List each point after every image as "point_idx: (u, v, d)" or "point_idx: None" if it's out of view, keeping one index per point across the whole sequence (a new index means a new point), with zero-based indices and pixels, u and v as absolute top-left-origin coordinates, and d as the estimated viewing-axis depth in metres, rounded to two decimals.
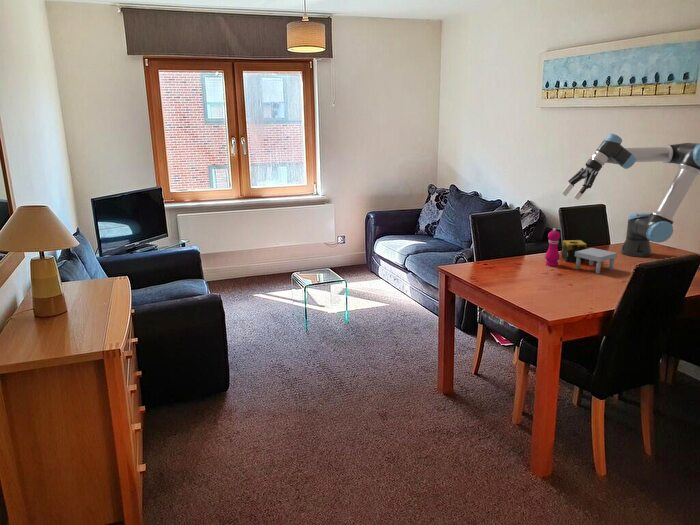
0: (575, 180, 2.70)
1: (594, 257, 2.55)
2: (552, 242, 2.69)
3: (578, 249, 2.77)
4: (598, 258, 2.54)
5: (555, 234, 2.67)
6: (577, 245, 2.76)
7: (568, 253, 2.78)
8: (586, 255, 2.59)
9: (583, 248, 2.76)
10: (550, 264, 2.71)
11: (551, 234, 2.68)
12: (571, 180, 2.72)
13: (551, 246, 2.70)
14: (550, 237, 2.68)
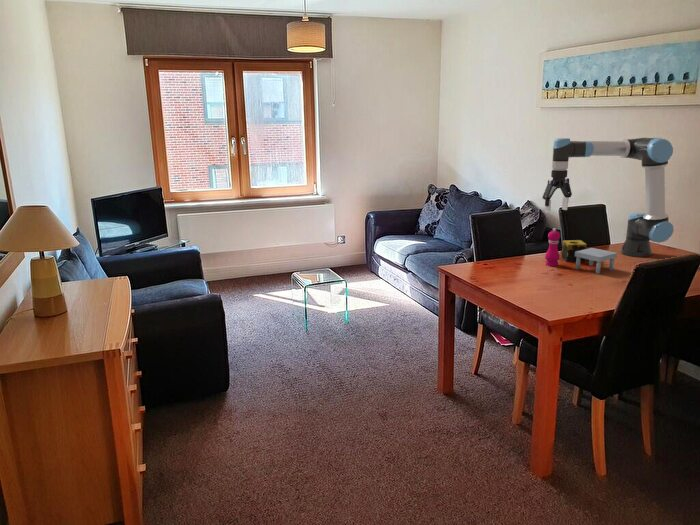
0: (563, 192, 2.67)
1: (594, 257, 2.55)
2: (552, 242, 2.69)
3: (578, 249, 2.77)
4: (598, 258, 2.54)
5: (555, 234, 2.67)
6: (577, 245, 2.76)
7: (568, 253, 2.78)
8: (586, 255, 2.59)
9: (583, 248, 2.76)
10: (550, 264, 2.71)
11: (551, 234, 2.68)
12: None
13: (551, 246, 2.70)
14: (550, 237, 2.68)
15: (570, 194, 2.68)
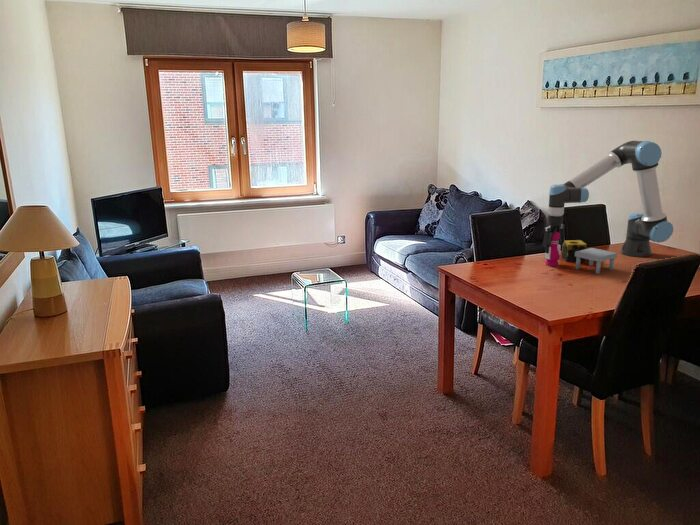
0: None
1: (594, 257, 2.55)
2: (552, 242, 2.69)
3: (578, 249, 2.77)
4: (598, 258, 2.54)
5: (555, 234, 2.67)
6: (577, 245, 2.76)
7: (568, 253, 2.78)
8: (586, 255, 2.59)
9: (583, 248, 2.76)
10: (550, 264, 2.71)
11: None
12: None
13: (551, 246, 2.70)
14: None
15: (562, 241, 2.73)
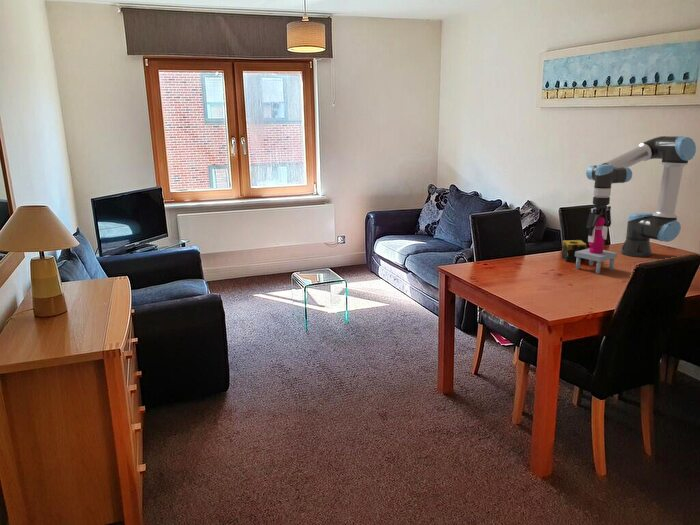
0: None
1: (594, 257, 2.55)
2: (596, 228, 2.57)
3: (578, 249, 2.77)
4: (598, 258, 2.54)
5: (600, 219, 2.55)
6: (577, 245, 2.76)
7: (568, 253, 2.78)
8: (586, 255, 2.59)
9: (583, 248, 2.76)
10: (595, 251, 2.59)
11: None
12: None
13: (595, 232, 2.58)
14: None
15: (609, 223, 2.61)
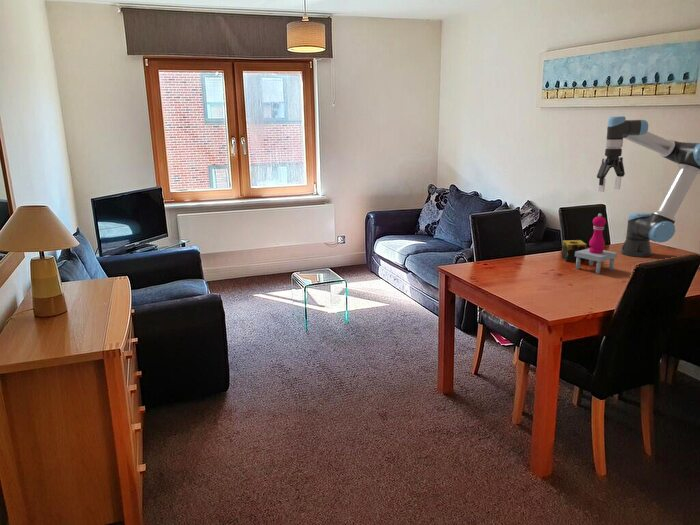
0: (616, 171, 2.66)
1: (594, 257, 2.55)
2: (597, 228, 2.56)
3: (578, 249, 2.77)
4: (598, 258, 2.54)
5: (601, 220, 2.55)
6: (577, 245, 2.76)
7: (568, 253, 2.78)
8: (586, 255, 2.59)
9: (583, 248, 2.76)
10: (595, 251, 2.59)
11: (596, 220, 2.56)
12: None
13: (596, 232, 2.58)
14: (595, 223, 2.56)
15: (623, 173, 2.67)
